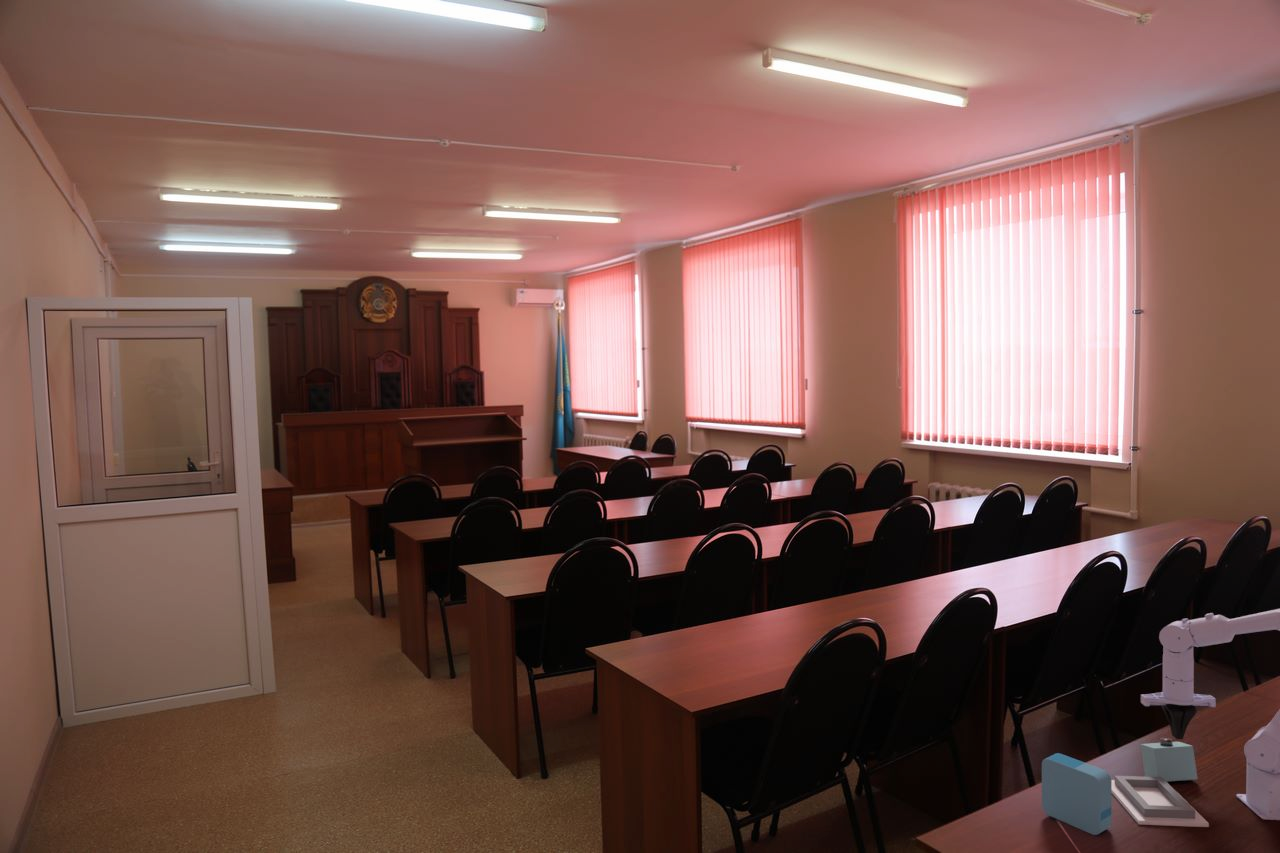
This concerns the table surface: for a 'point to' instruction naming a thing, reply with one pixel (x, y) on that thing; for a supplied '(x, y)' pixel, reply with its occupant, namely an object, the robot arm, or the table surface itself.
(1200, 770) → the table surface
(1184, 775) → the key block
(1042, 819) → the table surface
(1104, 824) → the data package
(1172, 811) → the socket plate
